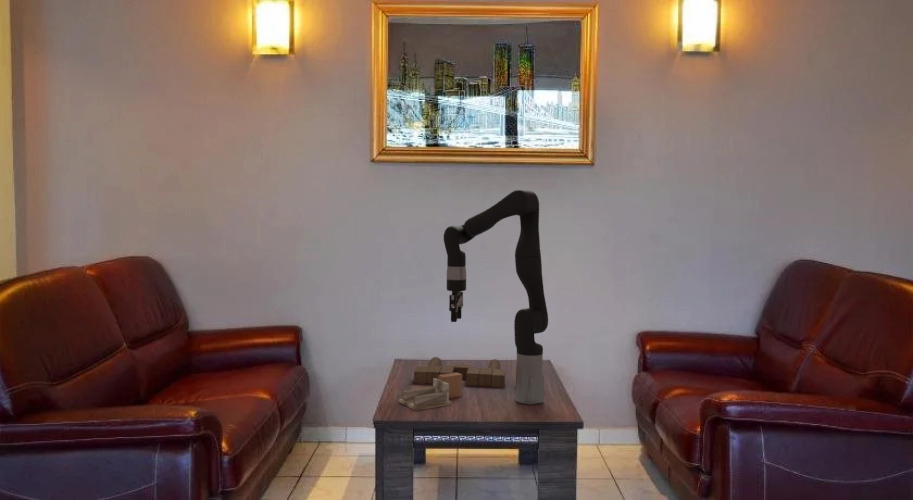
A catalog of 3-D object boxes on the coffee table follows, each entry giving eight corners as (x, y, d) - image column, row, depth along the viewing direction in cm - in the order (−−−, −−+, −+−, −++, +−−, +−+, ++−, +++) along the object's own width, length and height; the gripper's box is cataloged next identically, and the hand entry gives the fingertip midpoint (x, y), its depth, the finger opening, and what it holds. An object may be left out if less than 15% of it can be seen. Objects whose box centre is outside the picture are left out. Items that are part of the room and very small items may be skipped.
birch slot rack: (450, 404, 240) (451, 384, 240) (415, 410, 232) (416, 390, 232) (432, 396, 250) (433, 377, 250) (398, 401, 242) (398, 382, 242)
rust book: (461, 396, 251) (462, 374, 251) (443, 399, 247) (443, 377, 246) (456, 393, 254) (456, 372, 254) (438, 396, 250) (438, 375, 249)
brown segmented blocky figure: (504, 388, 265) (506, 370, 294) (504, 374, 264) (506, 358, 294) (413, 385, 268) (424, 367, 297) (413, 370, 268) (424, 354, 297)
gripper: (462, 280, 257) (462, 323, 258) (469, 276, 271) (469, 318, 272) (442, 279, 259) (442, 322, 260) (450, 276, 273) (450, 317, 274)
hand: (456, 320), depth 266 cm, fingers open, 8 cm apart
